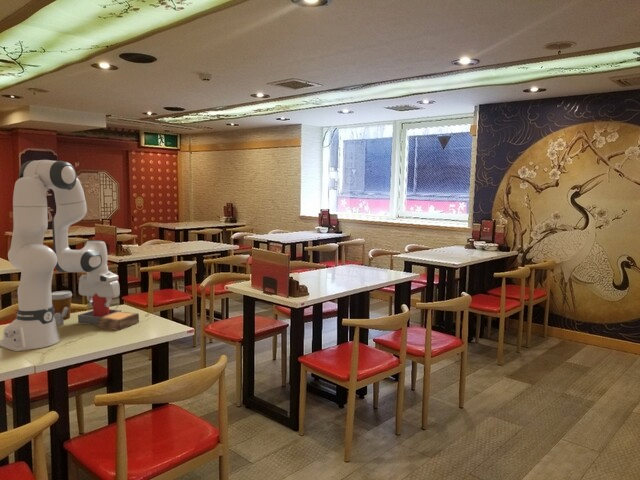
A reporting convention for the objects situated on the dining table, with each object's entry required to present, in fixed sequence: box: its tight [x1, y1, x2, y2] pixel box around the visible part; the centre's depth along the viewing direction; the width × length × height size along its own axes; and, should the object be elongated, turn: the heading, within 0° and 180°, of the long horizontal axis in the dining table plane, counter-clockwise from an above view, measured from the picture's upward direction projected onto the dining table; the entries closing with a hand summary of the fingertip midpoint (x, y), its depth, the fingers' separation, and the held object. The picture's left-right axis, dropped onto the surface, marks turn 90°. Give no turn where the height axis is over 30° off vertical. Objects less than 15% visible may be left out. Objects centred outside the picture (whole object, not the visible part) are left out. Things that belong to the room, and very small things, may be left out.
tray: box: [77, 308, 122, 326], centre depth 217 cm, size 13×13×4 cm
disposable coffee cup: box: [51, 290, 73, 321], centre depth 219 cm, size 10×10×12 cm
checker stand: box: [97, 311, 140, 331], centre depth 210 cm, size 12×12×4 cm
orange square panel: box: [103, 311, 134, 320], centre depth 209 cm, size 9×9×1 cm
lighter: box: [53, 307, 69, 327], centre depth 209 cm, size 7×2×8 cm, turn 83°
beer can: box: [92, 293, 110, 317], centre depth 217 cm, size 7×7×12 cm
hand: (99, 306), depth 216 cm, fingers open, 7 cm apart
